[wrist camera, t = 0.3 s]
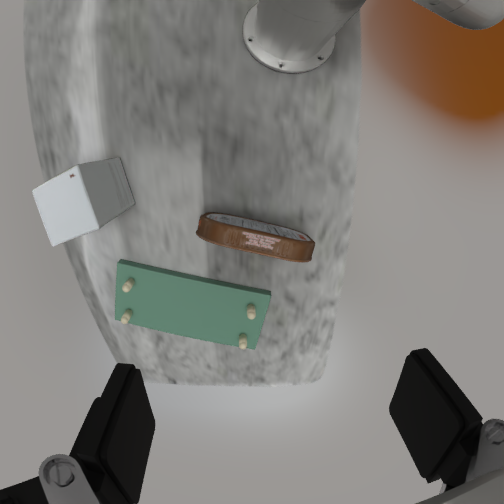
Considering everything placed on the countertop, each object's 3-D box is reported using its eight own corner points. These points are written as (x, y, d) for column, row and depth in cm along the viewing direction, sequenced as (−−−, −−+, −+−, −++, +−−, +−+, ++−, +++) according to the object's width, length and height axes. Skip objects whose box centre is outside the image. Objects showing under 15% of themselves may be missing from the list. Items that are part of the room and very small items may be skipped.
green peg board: (120, 259, 44) (109, 271, 39) (270, 291, 46) (273, 306, 42) (117, 314, 47) (108, 330, 42) (254, 344, 49) (255, 361, 45)
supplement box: (79, 174, 39) (29, 188, 27) (121, 156, 39) (78, 162, 27) (94, 221, 42) (50, 248, 30) (136, 205, 41) (100, 229, 29)
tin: (199, 226, 43) (190, 245, 35) (204, 204, 42) (196, 218, 34) (303, 249, 44) (317, 272, 36) (309, 228, 43) (325, 247, 35)
